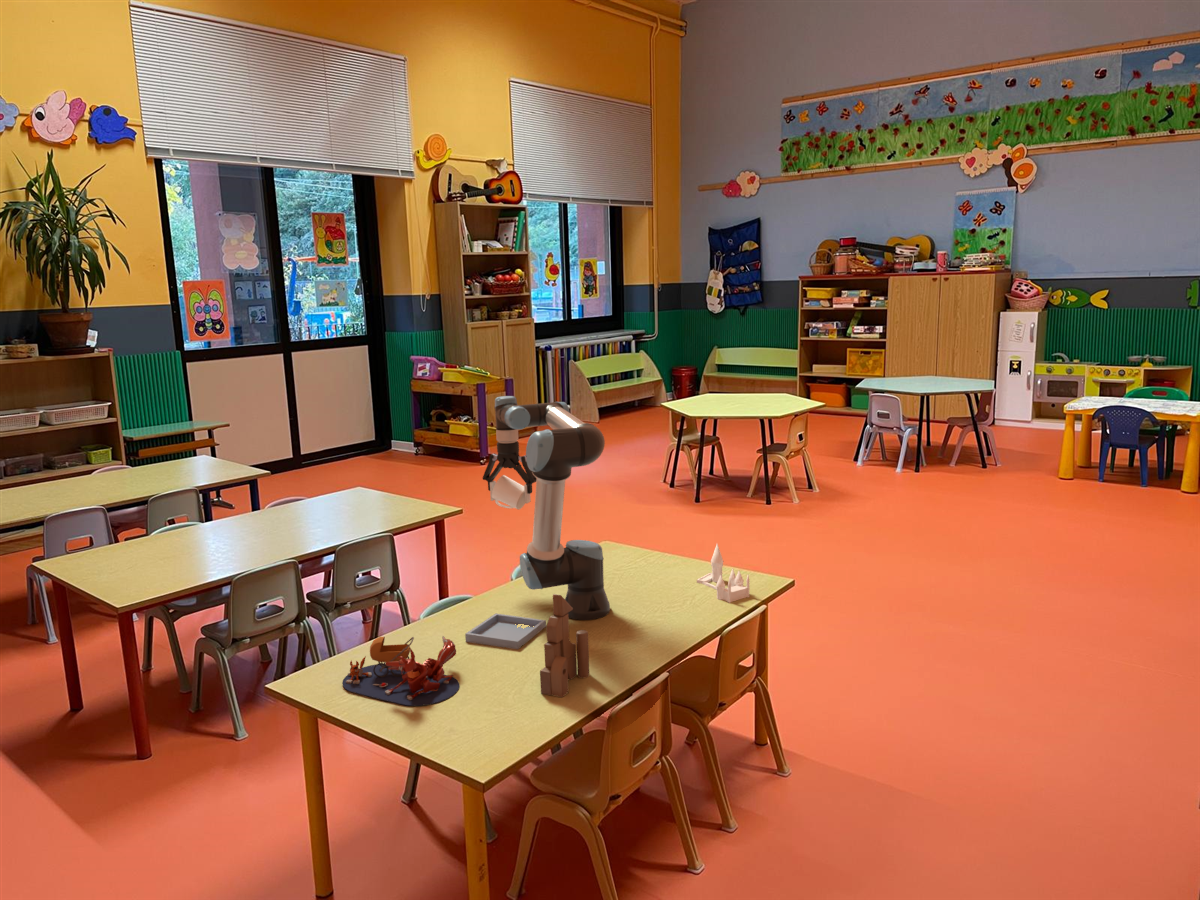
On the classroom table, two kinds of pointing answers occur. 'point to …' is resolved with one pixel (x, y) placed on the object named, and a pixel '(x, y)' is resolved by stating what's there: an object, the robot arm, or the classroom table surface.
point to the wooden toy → (562, 652)
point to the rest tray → (505, 631)
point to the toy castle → (734, 584)
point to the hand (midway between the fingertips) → (510, 501)
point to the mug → (509, 493)
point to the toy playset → (403, 675)
